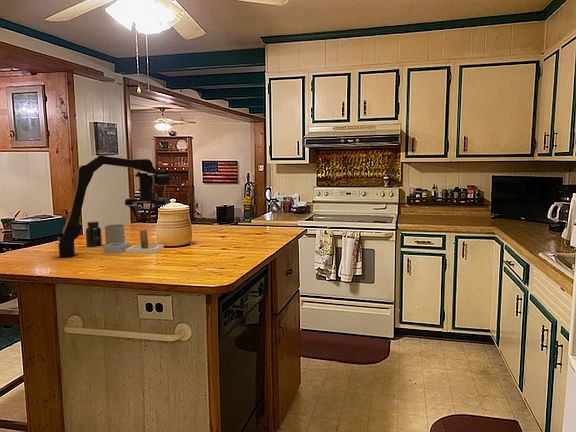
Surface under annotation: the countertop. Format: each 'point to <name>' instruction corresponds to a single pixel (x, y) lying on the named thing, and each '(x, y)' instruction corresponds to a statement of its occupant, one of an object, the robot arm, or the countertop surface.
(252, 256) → the countertop surface
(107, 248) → the grey square peg base
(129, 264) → the countertop surface
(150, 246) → the tray
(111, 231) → the cup
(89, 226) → the supplement bottle
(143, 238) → the dowel
